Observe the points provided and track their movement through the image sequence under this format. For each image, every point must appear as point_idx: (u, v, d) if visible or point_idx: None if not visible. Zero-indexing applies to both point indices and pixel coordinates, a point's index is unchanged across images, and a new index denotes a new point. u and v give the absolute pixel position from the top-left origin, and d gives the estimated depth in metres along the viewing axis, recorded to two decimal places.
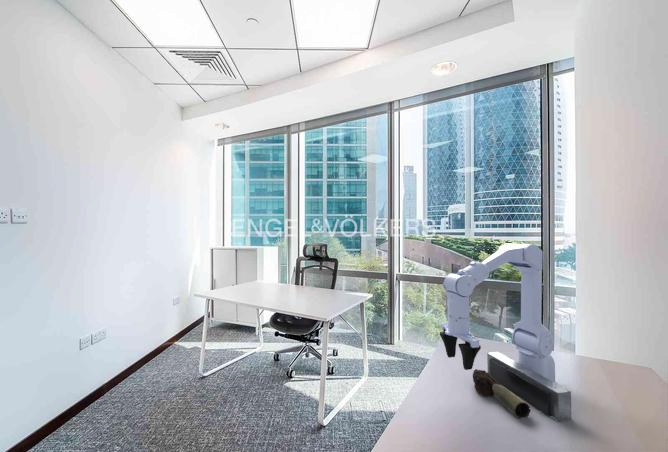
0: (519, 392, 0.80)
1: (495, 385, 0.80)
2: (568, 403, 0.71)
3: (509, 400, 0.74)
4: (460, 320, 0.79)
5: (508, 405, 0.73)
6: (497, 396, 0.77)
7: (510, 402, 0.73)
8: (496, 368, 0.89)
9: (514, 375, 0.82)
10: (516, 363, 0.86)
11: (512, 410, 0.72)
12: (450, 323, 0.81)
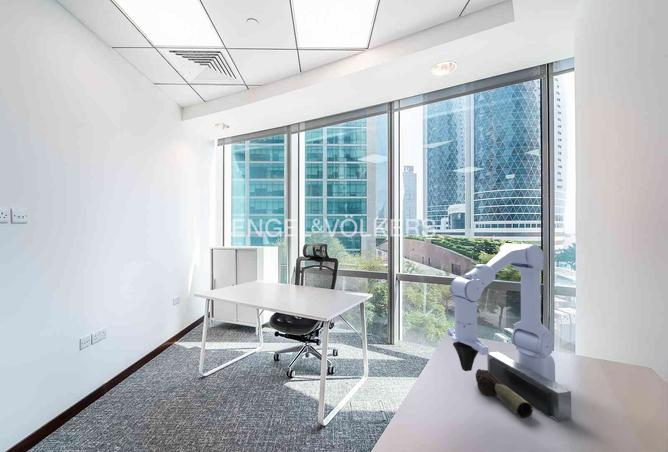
0: (519, 392, 0.80)
1: (498, 385, 0.80)
2: (568, 403, 0.71)
3: (511, 400, 0.74)
4: (468, 326, 0.76)
5: (510, 405, 0.73)
6: (499, 396, 0.77)
7: (512, 402, 0.73)
8: (496, 368, 0.89)
9: (514, 375, 0.82)
10: (516, 363, 0.86)
11: (514, 410, 0.72)
12: (457, 329, 0.78)
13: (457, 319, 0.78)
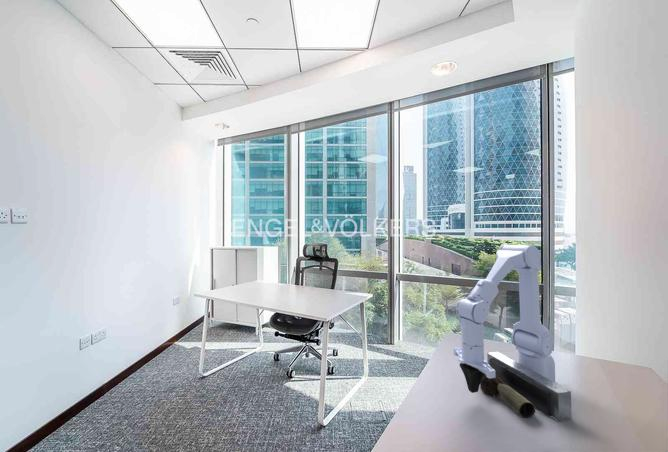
0: (519, 392, 0.80)
1: (500, 385, 0.80)
2: (568, 403, 0.71)
3: (514, 400, 0.74)
4: (475, 348, 0.76)
5: (513, 405, 0.73)
6: (502, 396, 0.77)
7: (515, 402, 0.73)
8: (496, 368, 0.89)
9: (514, 375, 0.82)
10: (516, 363, 0.86)
11: (517, 410, 0.72)
12: (464, 351, 0.78)
13: (464, 341, 0.78)
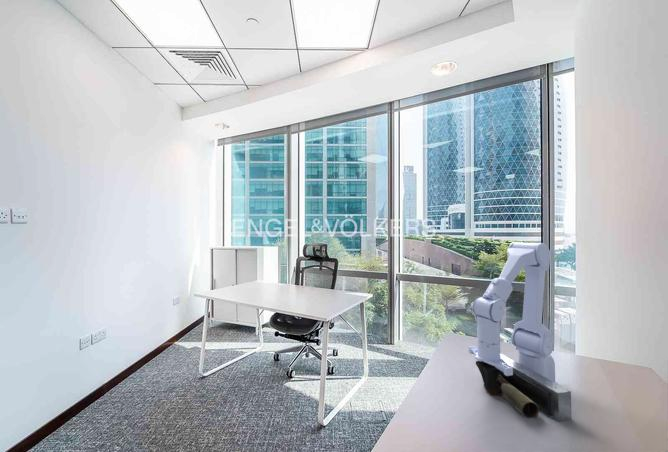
0: None
1: (504, 384, 0.80)
2: (568, 403, 0.71)
3: (517, 399, 0.74)
4: (491, 346, 0.77)
5: (516, 404, 0.74)
6: (505, 395, 0.78)
7: (518, 401, 0.73)
8: None
9: (514, 375, 0.82)
10: (516, 363, 0.86)
11: (520, 409, 0.72)
12: (481, 348, 0.79)
13: (481, 339, 0.79)
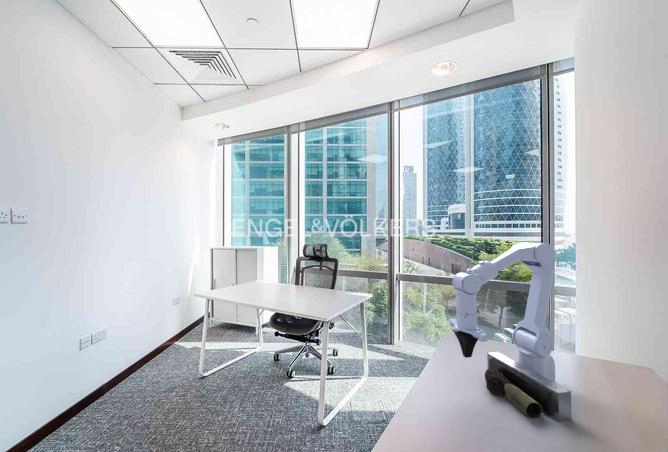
0: None
1: (507, 385, 0.80)
2: (568, 403, 0.71)
3: (520, 400, 0.74)
4: (469, 316, 0.84)
5: (519, 405, 0.73)
6: (509, 396, 0.77)
7: (521, 402, 0.73)
8: (496, 368, 0.89)
9: (514, 375, 0.82)
10: (516, 363, 0.86)
11: (523, 410, 0.72)
12: (459, 319, 0.85)
13: (457, 309, 0.86)
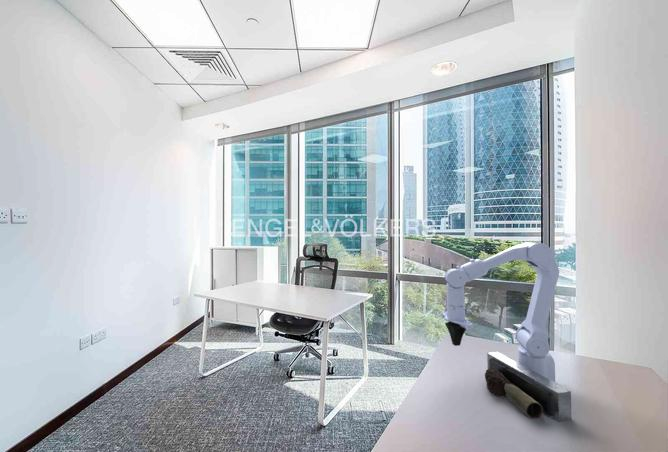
0: None
1: (507, 385, 0.80)
2: (568, 403, 0.71)
3: (521, 400, 0.74)
4: (457, 308, 0.92)
5: (520, 405, 0.73)
6: (509, 396, 0.77)
7: (522, 402, 0.73)
8: (496, 368, 0.89)
9: (514, 375, 0.82)
10: (516, 363, 0.86)
11: (524, 410, 0.72)
12: (448, 311, 0.94)
13: None
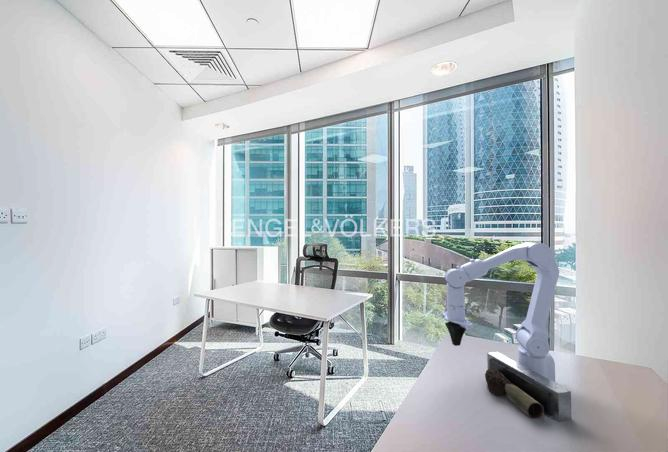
0: None
1: (508, 385, 0.80)
2: (568, 403, 0.71)
3: (522, 400, 0.74)
4: (457, 308, 0.92)
5: (521, 405, 0.73)
6: (510, 396, 0.77)
7: (523, 402, 0.73)
8: (496, 368, 0.89)
9: (514, 375, 0.82)
10: (516, 363, 0.86)
11: (525, 410, 0.72)
12: (448, 311, 0.94)
13: None
